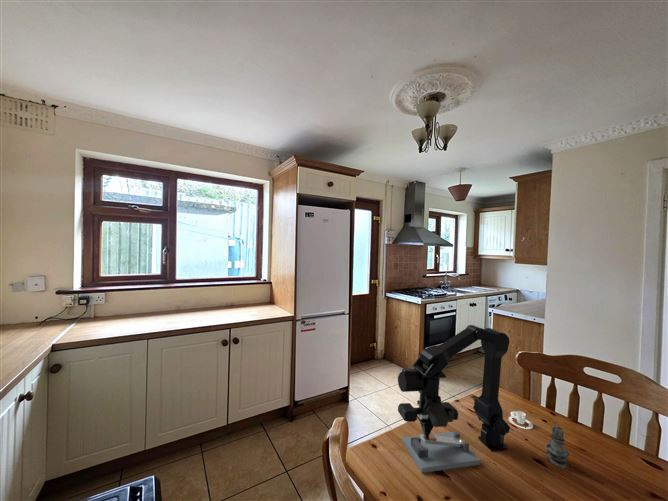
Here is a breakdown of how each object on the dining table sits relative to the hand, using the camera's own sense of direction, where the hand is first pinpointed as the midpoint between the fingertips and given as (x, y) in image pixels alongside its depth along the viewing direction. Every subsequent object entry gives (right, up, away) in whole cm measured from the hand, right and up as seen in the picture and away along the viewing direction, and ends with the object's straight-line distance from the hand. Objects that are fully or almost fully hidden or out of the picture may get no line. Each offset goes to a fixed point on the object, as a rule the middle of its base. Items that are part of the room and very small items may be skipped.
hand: (425, 437), depth 87 cm
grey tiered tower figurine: (+42, -7, -1) cm, 42 cm away
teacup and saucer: (+46, -7, +19) cm, 51 cm away
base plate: (+5, -6, +1) cm, 8 cm away
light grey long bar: (+6, -3, +1) cm, 7 cm away
